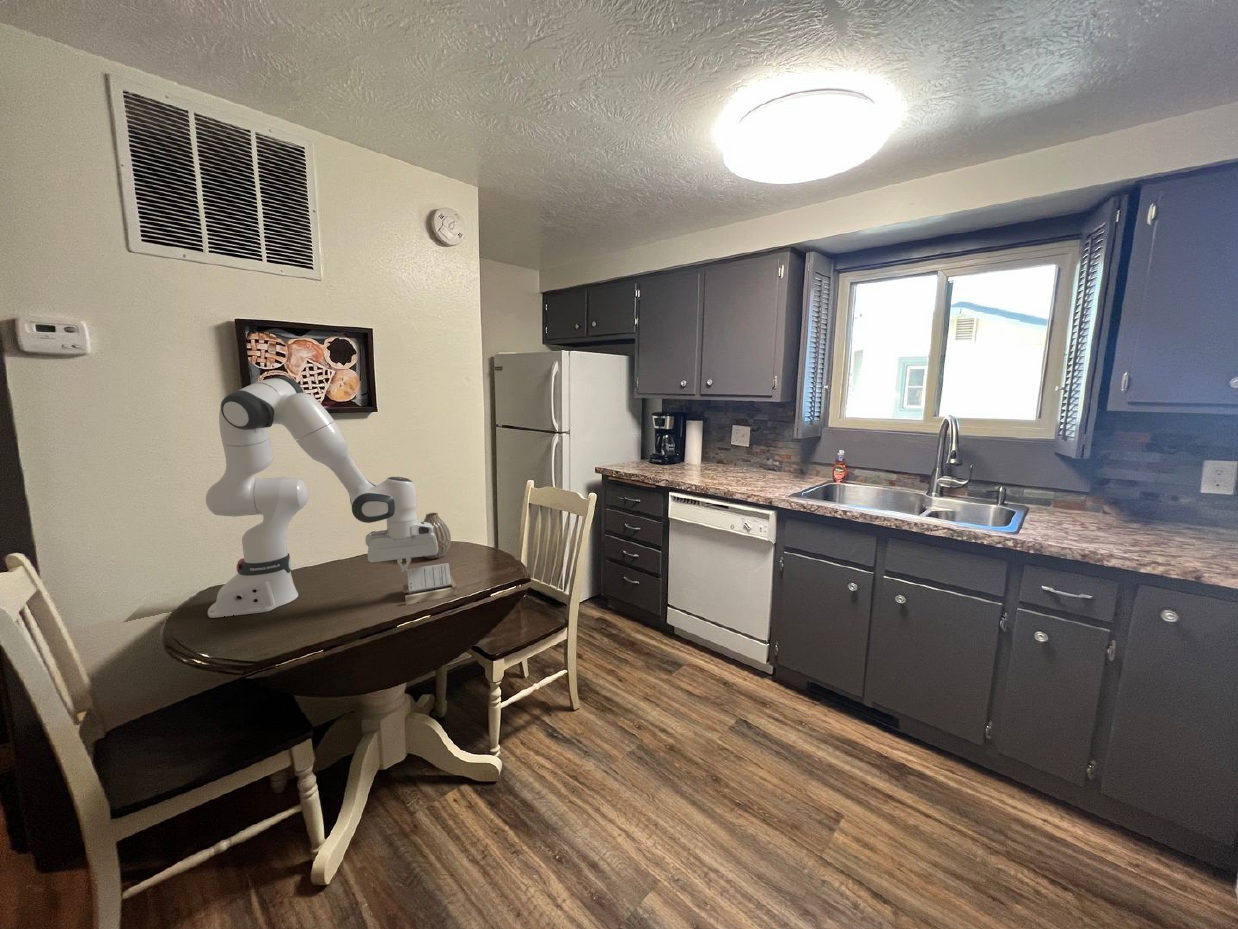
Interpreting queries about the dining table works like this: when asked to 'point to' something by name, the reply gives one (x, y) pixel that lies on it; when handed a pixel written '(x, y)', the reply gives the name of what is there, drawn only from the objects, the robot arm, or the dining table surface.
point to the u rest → (430, 593)
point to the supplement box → (428, 578)
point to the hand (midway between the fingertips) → (404, 571)
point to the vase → (439, 534)
